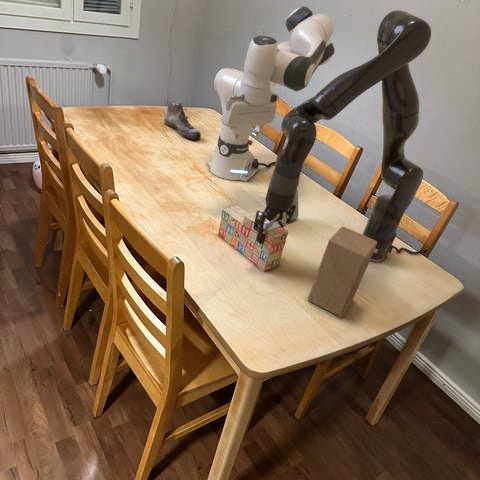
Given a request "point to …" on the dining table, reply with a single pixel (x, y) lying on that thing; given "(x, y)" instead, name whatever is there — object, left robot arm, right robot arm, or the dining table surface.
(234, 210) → the stack of blocks
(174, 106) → the shoe
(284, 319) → the dining table surface
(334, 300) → the wooden block
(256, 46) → the left robot arm
